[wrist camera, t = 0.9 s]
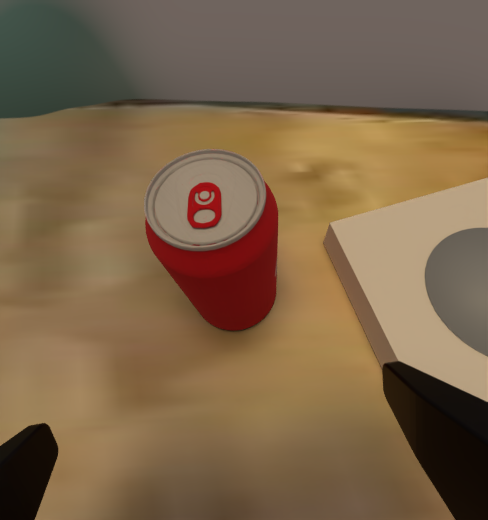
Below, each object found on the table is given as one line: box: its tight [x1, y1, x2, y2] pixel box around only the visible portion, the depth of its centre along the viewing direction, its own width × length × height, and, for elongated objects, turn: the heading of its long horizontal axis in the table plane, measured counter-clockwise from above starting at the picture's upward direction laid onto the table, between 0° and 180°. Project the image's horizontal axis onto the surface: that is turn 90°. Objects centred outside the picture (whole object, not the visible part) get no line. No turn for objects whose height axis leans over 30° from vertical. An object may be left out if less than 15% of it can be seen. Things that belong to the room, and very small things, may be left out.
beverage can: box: [144, 149, 278, 330], centre depth 18 cm, size 6×6×12 cm
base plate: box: [323, 178, 488, 402], centre depth 20 cm, size 16×16×3 cm
